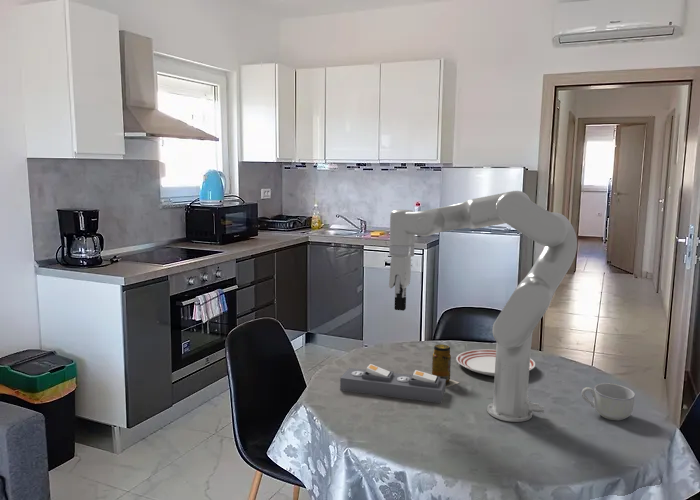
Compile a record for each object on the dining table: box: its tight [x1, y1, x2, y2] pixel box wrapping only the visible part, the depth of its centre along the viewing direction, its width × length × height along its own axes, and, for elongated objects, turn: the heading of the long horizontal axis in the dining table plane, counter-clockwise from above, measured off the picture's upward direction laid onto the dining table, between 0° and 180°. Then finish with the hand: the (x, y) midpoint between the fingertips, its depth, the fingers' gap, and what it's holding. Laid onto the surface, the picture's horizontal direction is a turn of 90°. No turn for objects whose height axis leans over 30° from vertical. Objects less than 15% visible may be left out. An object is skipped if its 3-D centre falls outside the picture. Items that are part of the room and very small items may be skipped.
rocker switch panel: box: [339, 367, 447, 404], centre depth 183 cm, size 32×10×5 cm, turn 73°
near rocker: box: [412, 369, 437, 383], centre depth 180 cm, size 7×4×1 cm, turn 73°
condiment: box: [431, 343, 460, 388], centre depth 191 cm, size 7×8×12 cm
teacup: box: [581, 382, 636, 421], centre depth 167 cm, size 14×11×8 cm
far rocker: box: [365, 363, 391, 377], centre depth 184 cm, size 7×4×1 cm, turn 73°
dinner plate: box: [455, 348, 536, 377], centre depth 207 cm, size 27×27×3 cm
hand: (400, 309), depth 178 cm, fingers closed
